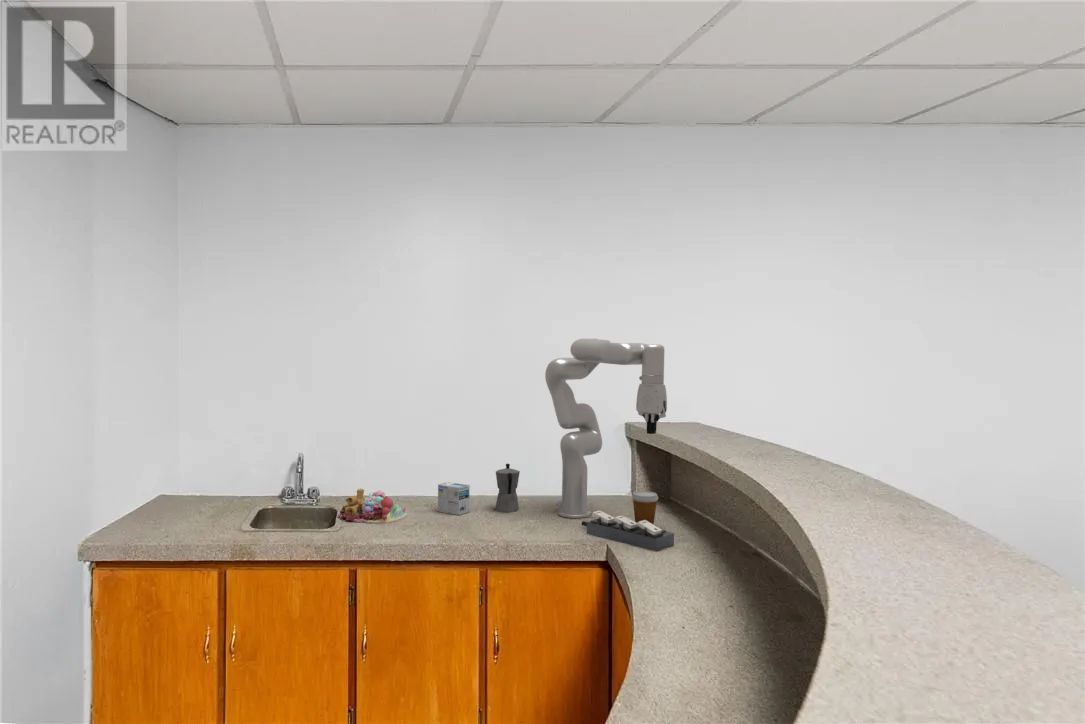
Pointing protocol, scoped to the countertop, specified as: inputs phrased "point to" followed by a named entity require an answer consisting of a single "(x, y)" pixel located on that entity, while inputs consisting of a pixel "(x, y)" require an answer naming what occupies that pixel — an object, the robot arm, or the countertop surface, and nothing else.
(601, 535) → the power strip
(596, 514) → the rocker
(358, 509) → the candy landscape model
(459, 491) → the light bulb box
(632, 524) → the rocker
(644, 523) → the rocker
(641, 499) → the disposable coffee cup
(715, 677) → the countertop surface
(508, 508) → the coffeepot
